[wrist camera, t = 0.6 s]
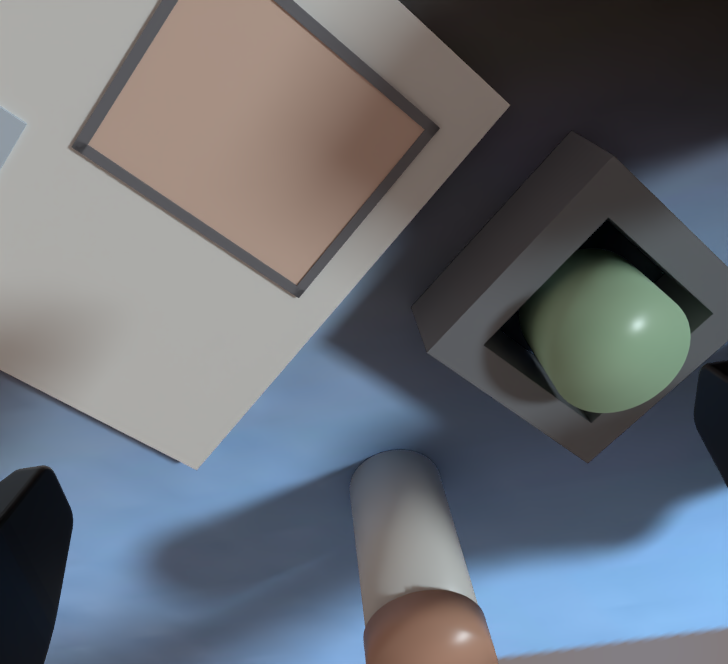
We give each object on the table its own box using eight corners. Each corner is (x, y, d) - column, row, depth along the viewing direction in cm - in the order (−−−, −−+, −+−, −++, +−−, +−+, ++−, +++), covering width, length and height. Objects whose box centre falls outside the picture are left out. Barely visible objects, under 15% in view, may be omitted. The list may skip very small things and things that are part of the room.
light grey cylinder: (462, 476, 26) (524, 660, 19) (400, 534, 28) (437, 728, 21) (389, 431, 25) (428, 613, 18) (327, 495, 26) (341, 688, 19)
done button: (666, 295, 22) (718, 341, 19) (574, 380, 23) (612, 434, 20) (585, 222, 20) (630, 262, 17) (493, 318, 21) (522, 368, 19)
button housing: (713, 266, 23) (768, 305, 20) (556, 411, 25) (587, 463, 23) (571, 130, 20) (613, 155, 18) (411, 307, 23) (426, 352, 20)
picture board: (502, 100, 20) (511, 106, 19) (199, 455, 25) (196, 473, 24) (-268, -619, 12) (-309, -662, 11) (-474, 105, 17) (-512, 113, 16)
